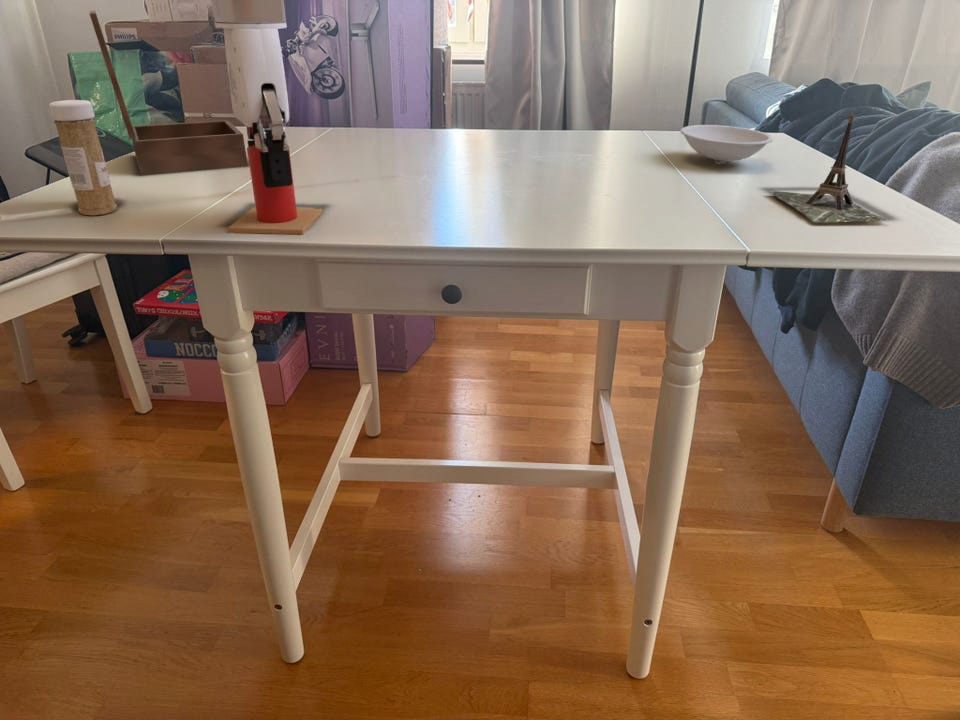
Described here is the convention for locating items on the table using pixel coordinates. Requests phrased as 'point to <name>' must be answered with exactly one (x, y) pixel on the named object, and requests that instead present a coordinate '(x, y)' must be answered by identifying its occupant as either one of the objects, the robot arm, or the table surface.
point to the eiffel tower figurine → (831, 205)
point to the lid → (112, 73)
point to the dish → (725, 141)
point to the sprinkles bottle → (83, 156)
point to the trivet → (295, 226)
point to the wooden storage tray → (188, 147)
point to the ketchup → (270, 192)
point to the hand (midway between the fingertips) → (271, 178)
